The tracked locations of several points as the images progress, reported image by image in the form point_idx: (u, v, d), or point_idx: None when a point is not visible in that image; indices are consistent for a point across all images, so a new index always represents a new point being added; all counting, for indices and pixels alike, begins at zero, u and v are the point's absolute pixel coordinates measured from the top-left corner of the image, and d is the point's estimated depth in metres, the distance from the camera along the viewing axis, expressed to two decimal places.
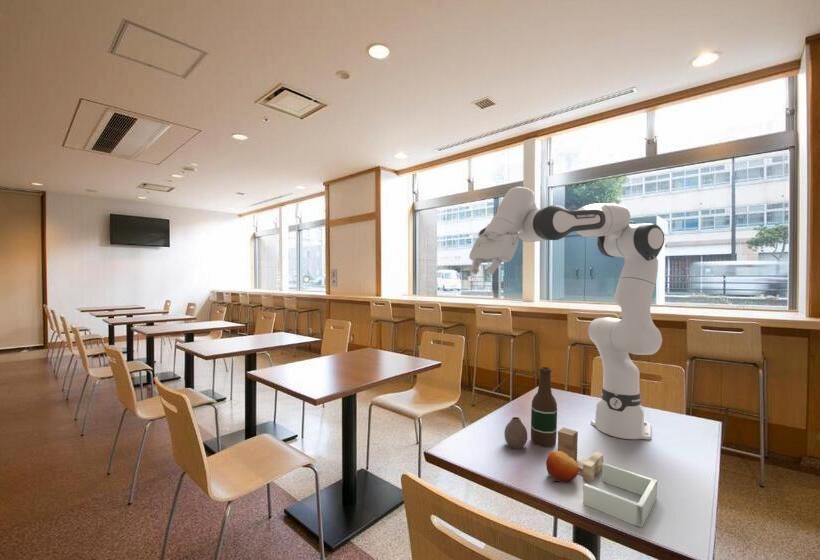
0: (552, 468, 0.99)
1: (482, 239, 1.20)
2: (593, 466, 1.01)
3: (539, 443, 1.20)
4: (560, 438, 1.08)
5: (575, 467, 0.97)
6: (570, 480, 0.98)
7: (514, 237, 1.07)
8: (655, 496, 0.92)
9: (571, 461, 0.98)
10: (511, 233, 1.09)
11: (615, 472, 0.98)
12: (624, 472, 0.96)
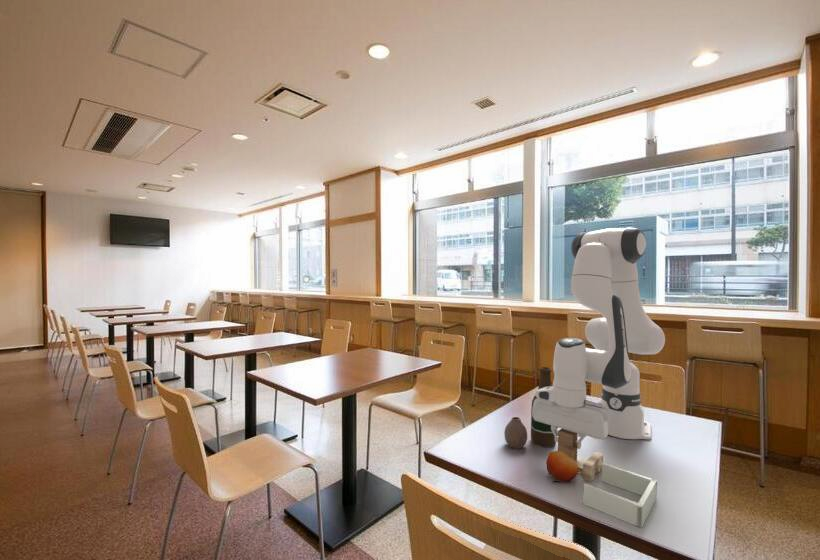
0: (552, 468, 0.99)
1: (548, 404, 1.10)
2: (593, 466, 1.01)
3: (539, 443, 1.20)
4: (560, 438, 1.08)
5: (575, 467, 0.97)
6: (570, 480, 0.98)
7: (604, 413, 1.02)
8: (655, 496, 0.92)
9: (571, 461, 0.98)
10: (593, 405, 1.03)
11: (615, 472, 0.98)
12: (624, 472, 0.96)
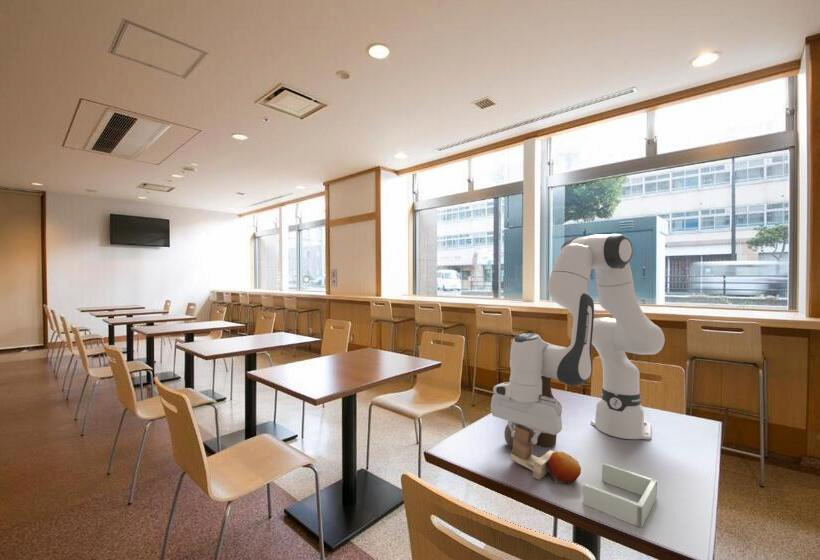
0: (555, 469, 0.98)
1: (505, 399, 1.09)
2: (544, 464, 1.01)
3: (539, 443, 1.20)
4: (516, 433, 1.07)
5: (578, 468, 0.97)
6: (573, 481, 0.98)
7: (557, 408, 1.01)
8: (655, 496, 0.92)
9: (574, 462, 0.98)
10: (547, 400, 1.03)
11: (615, 472, 0.98)
12: (624, 472, 0.96)
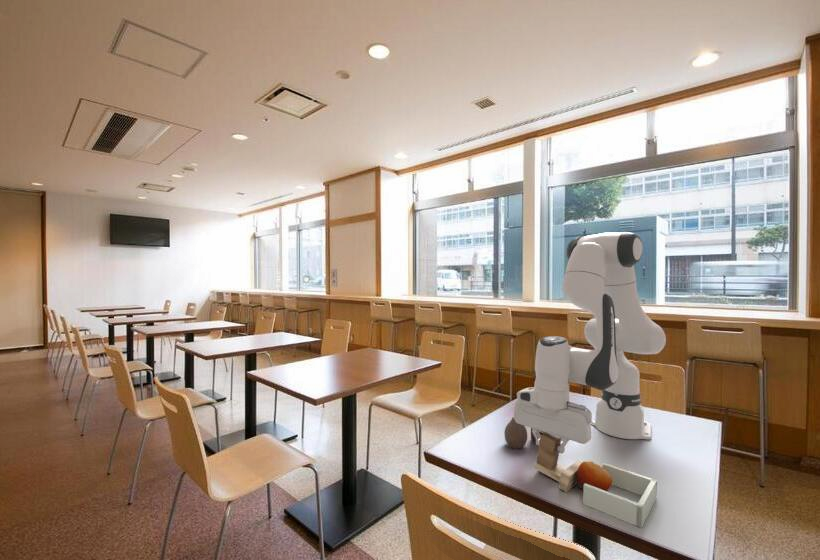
0: (586, 481, 0.93)
1: (530, 406, 1.04)
2: (571, 476, 0.95)
3: None
4: (542, 442, 1.02)
5: (610, 478, 0.92)
6: None
7: (587, 416, 0.96)
8: (655, 496, 0.92)
9: (605, 472, 0.93)
10: (576, 407, 0.98)
11: (615, 472, 0.98)
12: (624, 472, 0.96)
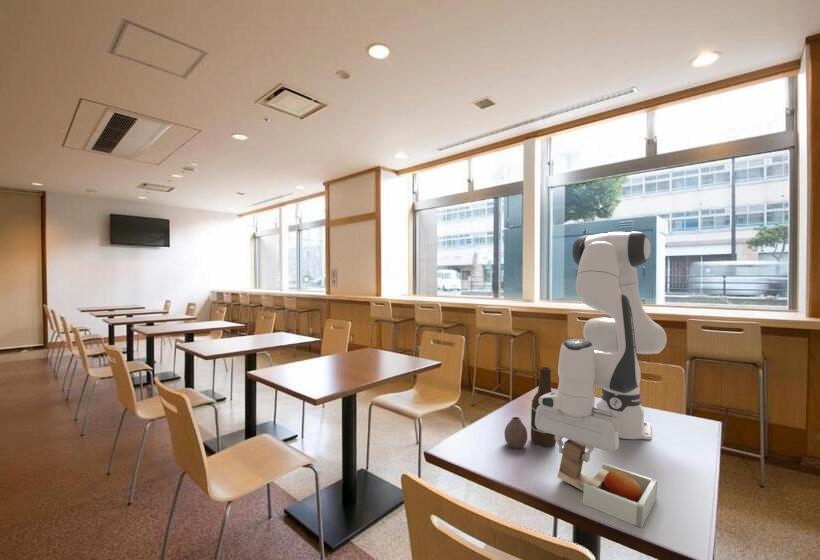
0: (615, 491, 0.88)
1: (552, 412, 1.00)
2: (599, 486, 0.91)
3: (539, 443, 1.20)
4: (566, 450, 0.98)
5: (640, 489, 0.88)
6: None
7: (615, 423, 0.91)
8: (655, 496, 0.92)
9: (635, 482, 0.89)
10: (603, 413, 0.93)
11: None
12: (624, 472, 0.96)
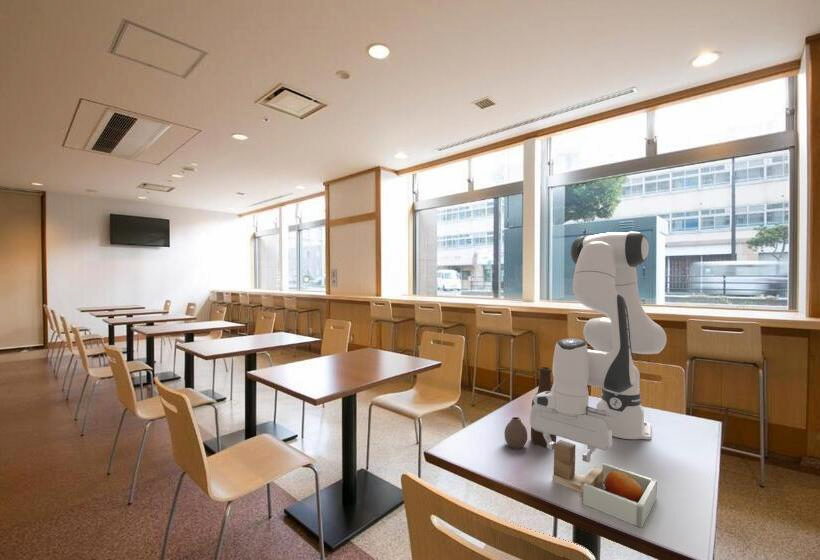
0: (616, 492, 0.88)
1: (547, 410, 1.01)
2: (592, 483, 0.92)
3: (539, 443, 1.20)
4: (556, 452, 0.99)
5: (641, 489, 0.88)
6: None
7: (608, 421, 0.93)
8: (655, 496, 0.92)
9: (635, 483, 0.88)
10: (596, 412, 0.94)
11: None
12: (624, 472, 0.96)
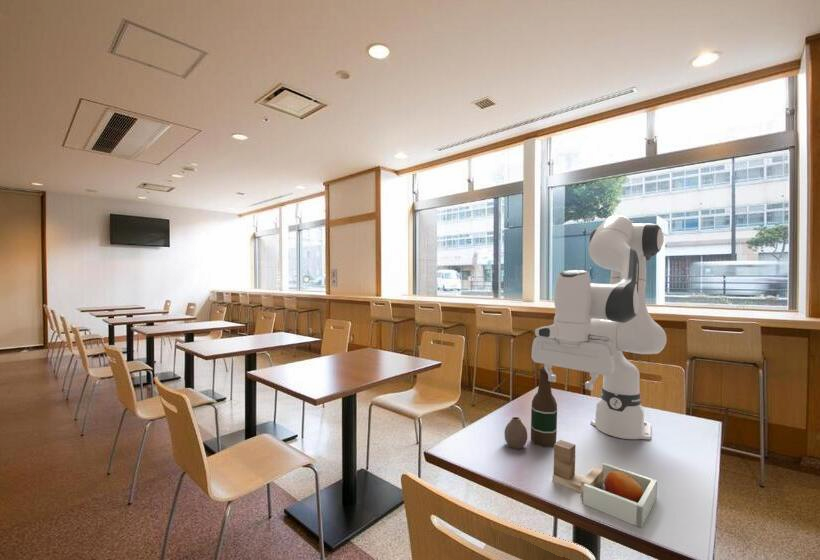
0: (616, 492, 0.88)
1: (549, 342, 1.01)
2: (592, 483, 0.92)
3: (539, 443, 1.20)
4: (556, 452, 0.99)
5: (641, 489, 0.88)
6: None
7: (610, 347, 0.92)
8: (655, 496, 0.92)
9: (635, 483, 0.88)
10: (598, 339, 0.94)
11: None
12: (624, 472, 0.96)
